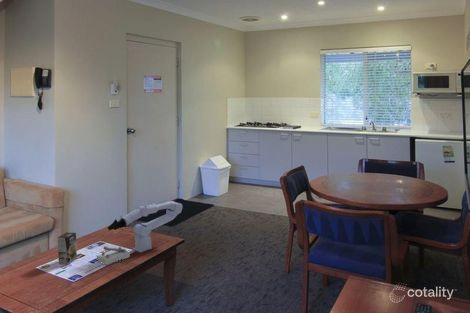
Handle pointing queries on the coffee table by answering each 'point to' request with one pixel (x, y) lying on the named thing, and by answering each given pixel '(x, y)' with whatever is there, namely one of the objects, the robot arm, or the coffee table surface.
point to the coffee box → (67, 248)
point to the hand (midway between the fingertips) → (110, 228)
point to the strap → (112, 249)
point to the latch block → (113, 256)
